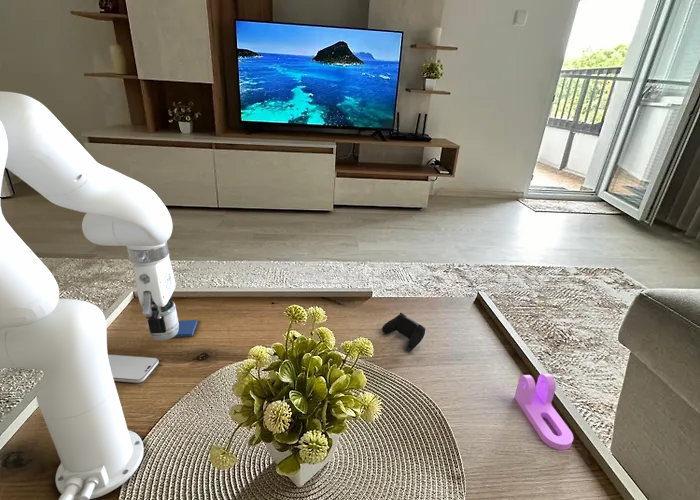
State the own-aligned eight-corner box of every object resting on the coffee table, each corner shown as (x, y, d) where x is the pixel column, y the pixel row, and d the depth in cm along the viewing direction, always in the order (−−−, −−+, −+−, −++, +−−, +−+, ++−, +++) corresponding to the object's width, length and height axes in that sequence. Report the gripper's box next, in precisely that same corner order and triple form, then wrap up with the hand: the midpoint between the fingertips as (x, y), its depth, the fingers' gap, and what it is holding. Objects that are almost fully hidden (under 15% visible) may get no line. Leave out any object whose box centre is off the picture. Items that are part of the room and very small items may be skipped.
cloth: (192, 336, 99) (192, 333, 99) (167, 337, 98) (166, 335, 98) (197, 322, 105) (197, 319, 104) (173, 323, 104) (173, 321, 103)
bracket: (514, 397, 83) (521, 371, 80) (539, 395, 84) (546, 369, 81) (549, 451, 71) (558, 423, 68) (578, 448, 72) (588, 420, 69)
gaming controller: (417, 356, 98) (432, 333, 98) (409, 351, 94) (425, 326, 95) (386, 335, 105) (401, 313, 106) (378, 329, 102) (394, 307, 103)
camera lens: (152, 327, 93) (146, 298, 90) (181, 323, 95) (176, 295, 91) (147, 343, 88) (141, 313, 84) (178, 339, 89) (172, 310, 86)
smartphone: (98, 353, 91) (160, 357, 90) (100, 357, 92) (161, 361, 90) (75, 375, 85) (141, 380, 83) (76, 379, 85) (142, 384, 83)
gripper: (154, 269, 75) (170, 346, 83) (178, 235, 91) (189, 301, 98) (112, 271, 74) (132, 348, 82) (143, 235, 90) (157, 303, 97)
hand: (163, 322), depth 90 cm, fingers closed on camera lens, 6 cm apart
